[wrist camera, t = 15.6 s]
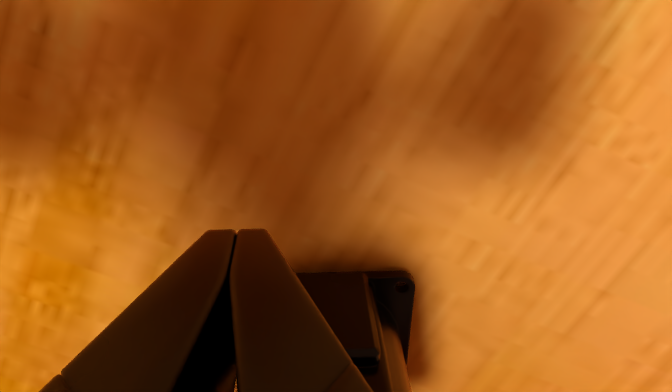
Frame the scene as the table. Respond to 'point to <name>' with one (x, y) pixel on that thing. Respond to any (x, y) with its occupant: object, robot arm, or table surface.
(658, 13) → the table surface
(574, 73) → the table surface
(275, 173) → the table surface
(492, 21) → the table surface
